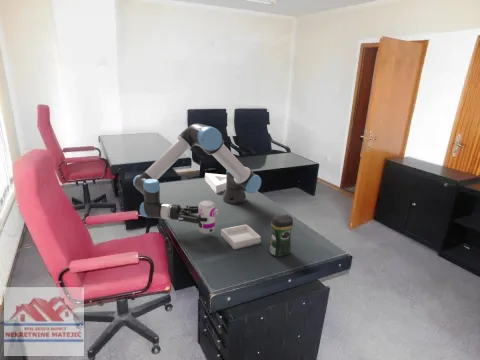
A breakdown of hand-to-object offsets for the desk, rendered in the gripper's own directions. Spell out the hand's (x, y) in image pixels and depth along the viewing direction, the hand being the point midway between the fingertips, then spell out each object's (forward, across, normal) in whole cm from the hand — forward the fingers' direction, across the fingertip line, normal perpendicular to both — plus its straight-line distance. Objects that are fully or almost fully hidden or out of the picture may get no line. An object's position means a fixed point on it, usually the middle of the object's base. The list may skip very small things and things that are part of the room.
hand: (216, 215), depth 152 cm
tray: (+12, 0, -12) cm, 17 cm away
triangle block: (-11, -72, -13) cm, 74 cm away
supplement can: (-5, 0, -9) cm, 10 cm away
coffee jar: (+32, +9, -12) cm, 35 cm away
